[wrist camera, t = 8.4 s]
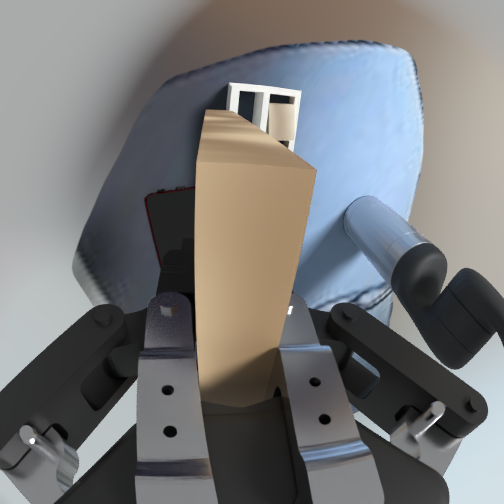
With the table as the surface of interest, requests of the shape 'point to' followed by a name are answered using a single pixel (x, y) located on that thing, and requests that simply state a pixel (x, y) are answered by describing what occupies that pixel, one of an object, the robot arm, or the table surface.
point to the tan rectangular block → (244, 253)
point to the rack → (263, 104)
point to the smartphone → (171, 218)
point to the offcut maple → (281, 121)
